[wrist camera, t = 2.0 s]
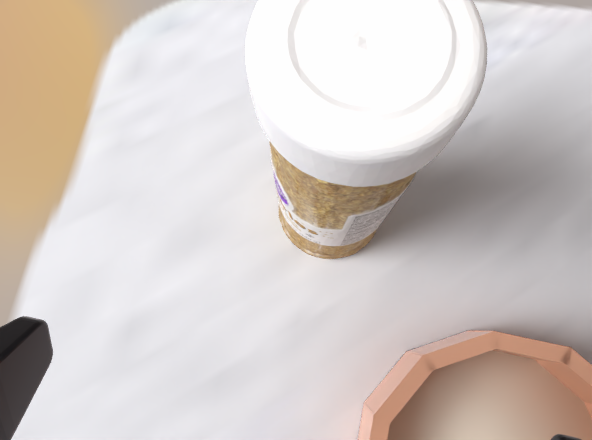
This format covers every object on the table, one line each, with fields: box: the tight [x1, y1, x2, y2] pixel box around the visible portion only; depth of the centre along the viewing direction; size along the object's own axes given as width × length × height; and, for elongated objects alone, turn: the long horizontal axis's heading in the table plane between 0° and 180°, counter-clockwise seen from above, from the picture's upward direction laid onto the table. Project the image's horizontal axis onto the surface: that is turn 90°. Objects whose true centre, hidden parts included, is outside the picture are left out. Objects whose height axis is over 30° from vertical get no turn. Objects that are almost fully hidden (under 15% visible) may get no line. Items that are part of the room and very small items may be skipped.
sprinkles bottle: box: [245, 0, 487, 259], centre depth 15 cm, size 5×5×14 cm
